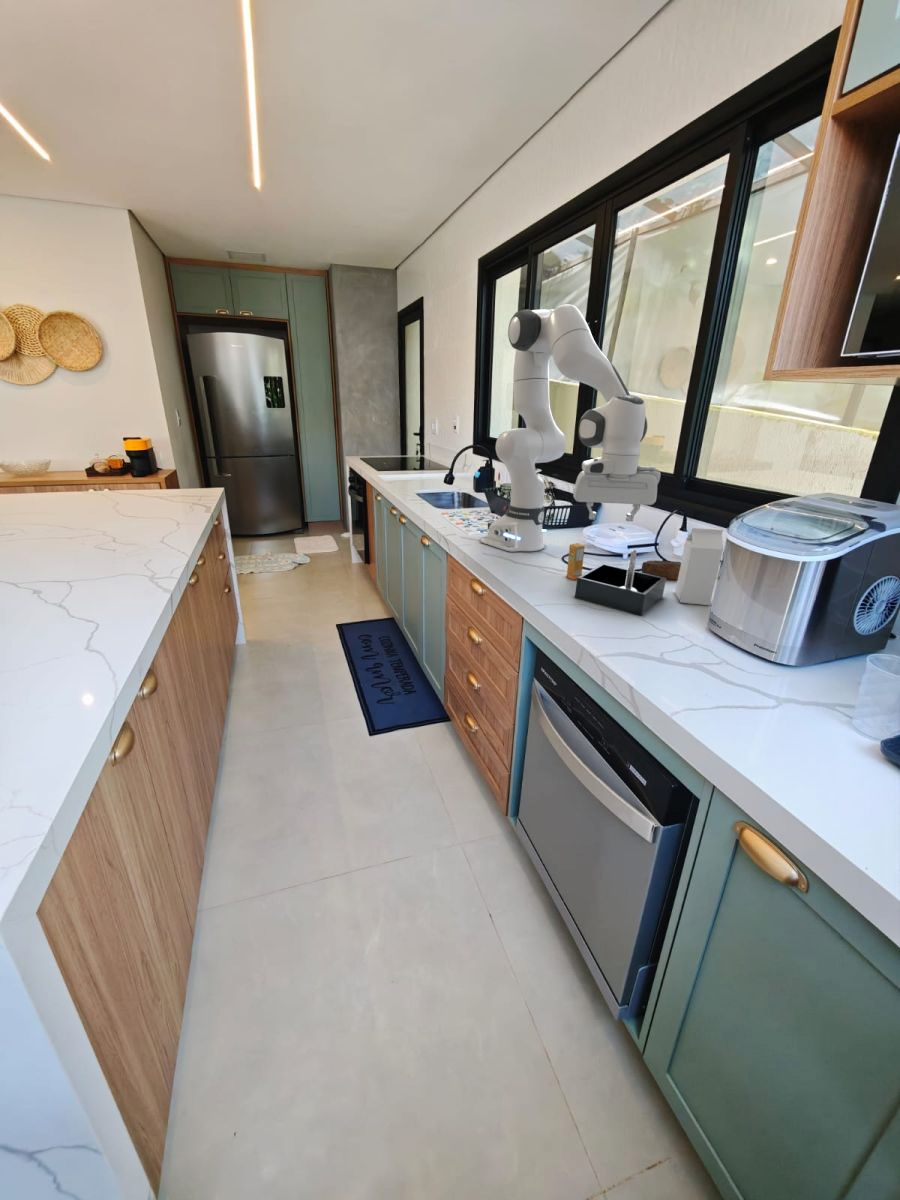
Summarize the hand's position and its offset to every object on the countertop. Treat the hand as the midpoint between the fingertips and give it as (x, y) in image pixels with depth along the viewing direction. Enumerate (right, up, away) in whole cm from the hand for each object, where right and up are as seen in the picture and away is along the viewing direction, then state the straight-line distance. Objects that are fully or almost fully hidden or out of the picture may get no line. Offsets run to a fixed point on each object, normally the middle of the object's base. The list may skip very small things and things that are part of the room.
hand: (610, 520), depth 130 cm
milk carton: (+22, -21, +2) cm, 30 cm away
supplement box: (-6, -15, +16) cm, 22 cm away
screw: (+4, -20, +1) cm, 21 cm away
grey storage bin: (+3, -20, +2) cm, 21 cm away
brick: (+20, -14, +17) cm, 30 cm away
